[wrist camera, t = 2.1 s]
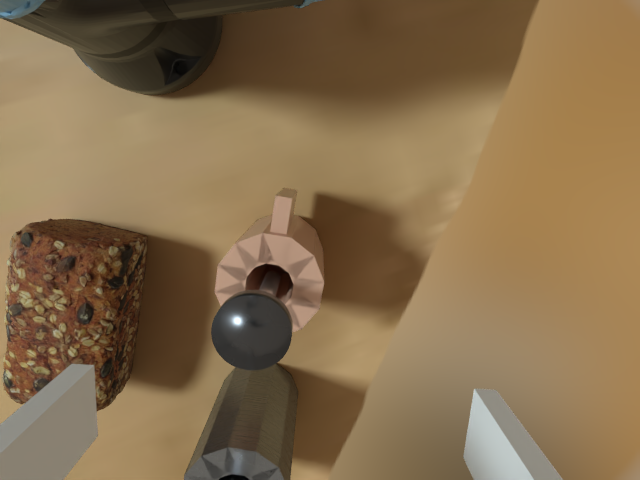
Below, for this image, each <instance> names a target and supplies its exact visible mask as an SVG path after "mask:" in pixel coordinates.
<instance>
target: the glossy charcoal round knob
mask: <svg viewBox="0 0 640 480" xmlns="http://www.w3.org/2000/svg"><path fill="white" fill-rule="evenodd" d="M279 282H280V275H279V273H278V272H276V271H269V272H267V273H266V275H265V277H264V279H263V282H262V284H261V286H260V288H259V290H245V291H241V292H238V293H236V294H234V295H232V296H231V297H230V298H228V299H227V300H226V301H225V302H224V303H223V305H222V306H221V308H220V309H219V311H218V312H217V314H216V316H215V318H214V320H213V323H212V330H211V334H212V341H213V344H214V346H215V348H216V350H217V352H218V353H219V355H220V356H221V357H222V358H223V359H224V360H225V361H226V362H228V363H229V364H231V365H233V366H235V367H237V368H240V369H244V370H262V369H265V368H268V367H271V366H272V365H274V364H276V363H277V362H278V361H280V360H281V359H282V358H283V356H284V355H285V354H286V352H287V350H288V348H289V346H290V342H291V337H292V329H293V323H292V318H291V315H290V312H289V310H288V309H287V307H286V306H285V304H284V303H283V302H282V301H281V300H280V299H279V298H277V297H276V296H275V295H276V292H277V288H278V285H279Z"/></svg>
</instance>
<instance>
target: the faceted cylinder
mask: <svg viewBox="0 0 640 480" xmlns="http://www.w3.org/2000/svg"><path fill="white" fill-rule="evenodd" d="M297 399H298V390H297V388H296V385H295V383H294V380H293V378H292V376H291V374H290V373H289V372H287V371H286V370H284V369H283V368H282V367H280V366H279V365H278V364H274V365H272V366H271V367H268V368H265V369H262V370H244V369H240V368H237V367H235V368H234V370H233V371H232V372H231V373H230V374H229V375H228V377H227V378H226V379H225V380H224V382H223V385H222V387H221V389H220V392H219V394H218V397H217V399H216V401H215V404H214V406H213V408H212V411H211V413H210V416H209V418H208V420H207V423H206V425H205V427H204V430H203V432H202V435H201V437H200V439H199V442H198V444H197V446H196V449H195V451H194V454H193V456H192V458H191V461H190V463H189V465H188V468H187V470H186V472H185V475H184V480H231V477H232V474H236V475H243V476H245V477H247V480H290V475H291V464H292V454H293V443H294V432H295V421H296V410H297Z"/></svg>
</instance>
